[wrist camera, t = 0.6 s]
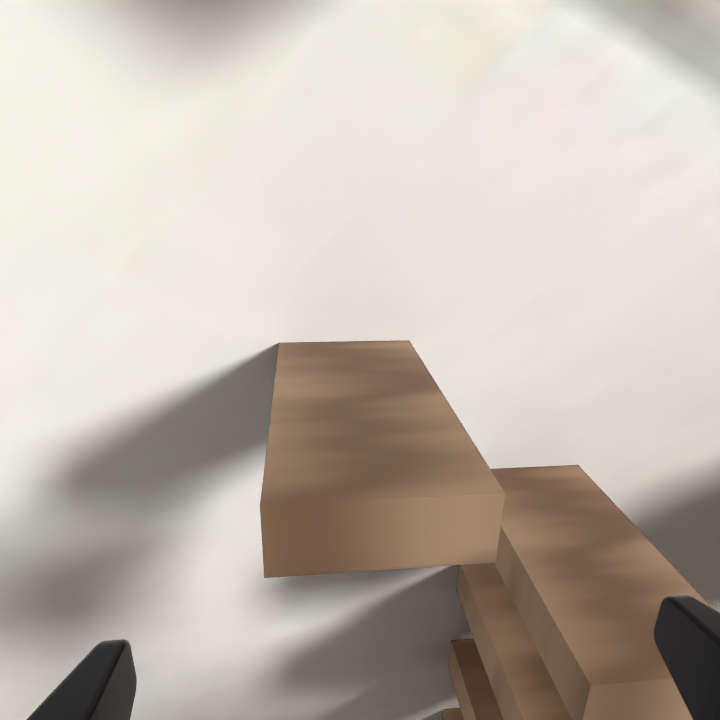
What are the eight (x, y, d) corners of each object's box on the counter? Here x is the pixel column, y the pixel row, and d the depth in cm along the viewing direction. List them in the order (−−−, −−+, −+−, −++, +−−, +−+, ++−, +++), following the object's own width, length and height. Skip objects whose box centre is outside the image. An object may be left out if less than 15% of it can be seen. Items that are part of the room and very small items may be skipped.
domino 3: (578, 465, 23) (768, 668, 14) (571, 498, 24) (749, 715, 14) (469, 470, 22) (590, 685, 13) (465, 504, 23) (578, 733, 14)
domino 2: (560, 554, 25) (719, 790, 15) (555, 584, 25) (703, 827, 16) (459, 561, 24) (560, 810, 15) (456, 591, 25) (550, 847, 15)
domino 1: (409, 340, 20) (505, 493, 11) (406, 383, 21) (495, 562, 11) (278, 342, 19) (260, 505, 10) (280, 386, 20) (264, 577, 11)
